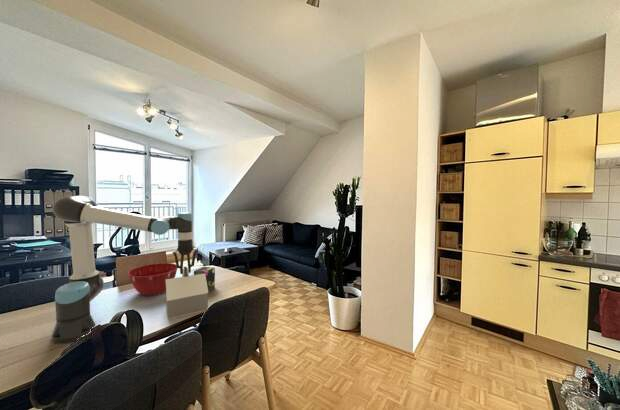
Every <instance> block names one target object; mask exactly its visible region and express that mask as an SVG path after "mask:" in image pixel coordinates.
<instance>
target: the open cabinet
mask: <svg viewBox="0 0 620 410" xmlns="http://www.w3.org/2000/svg"><path fill="white" fill-rule="evenodd" d="M208 299H209V292H208V293H205V294H200V295H195V296H190V297H185V298H180V299H175V300H169V301H167V294H166V293H165V300H166V303H165V305H166V309H165V311H166V315H167V320H172V319H175V318H181V317H185V316H189V315H193V314H198V313H201V312H205V310H206V309H207V308H208V309H209V304H208V303H209V302H208Z"/></svg>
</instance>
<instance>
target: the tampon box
mask: <svg viewBox="0 0 620 410" xmlns="http://www.w3.org/2000/svg"><path fill="white" fill-rule="evenodd" d="M204 273H205V275H206V281H207V287H208V293H210V292H211V291H212V290H214V289H215V288H216V287H215V286H216V285H215V284H216V282H215V281H216V268H215V267H210V266H203V267H199V268H198V269H195V270H194V271H193V275H198V274H204Z"/></svg>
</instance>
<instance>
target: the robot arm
mask: <svg viewBox="0 0 620 410" xmlns="http://www.w3.org/2000/svg"><path fill="white" fill-rule="evenodd" d="M52 213H53V214H54V216H55V217H57V219H59V220H61V221H63V223H64V225H65V226H67V227H68V232H69V242H70V245H69V246H70V252H71V264H72V265H71V266H72V274H71V275H70V277H69V282H68V283H65V284H63V285H61V286H59V287H58V288H57V289H56V290H55V293H54V294H55V296H54V302H55V303H54V304H55V305H54V306H55V321H56V323H55V325H54V328H53V329H52V330H53V331H52V334H51V343H53V342H54V344H58V343H60V344H68V343H72V342H76V341H78V340H77V339H78V338H80V337H81V336H83V335H86V334H88V333H89V332H90V329H91V328H92V327H94V326H95V327H96V322H95V321H94V319H93V317H92V315H91V302H92V301H93V300H94V299H95V298H96V297H97V296H99V294H100V293H101V291H103V288H104V284H105V281H104V279H103V277H101V275H100V271H99V270H97V269H96V262H95V261H96V260H95V251H94V250H95V249H94V237H93V226H92V225H93V224H98V225H99V224H100V225H104V226H105V225H106V226H112V227H117V228H124V229H129V230H130V229H131V230H137V231H141V232H143V231H144V232H149V233H153V234H155V235H157V236H160V235H164V234H166V233H168V232H169V230H170V231H171V230H177V239H178V240H177V248H176V250H173V251H172V254H173V256H174V261H175V264H176V266H177V269H179V273H180V275H182V276H181V277H184V267H185V266H184V259H185V258H184V257H185V256H186V259H187V261H186V262H187V266H186V267H187V274H188V276H190V273H191V272H192V271H191V268H192V267H194V266H195V262H196V256H197V253H198V249H197V248H194V246H193V214H192V212H189V211H187V212H185V211H184V212H178V213H177V215H173V216H170V215H169V216H167V215H166V216H163V215H160V216H147V215H143V214H137V213H132V212H126V211H120V210H116V209H110V208H104V207H100V206H99V207H98V205H97V202H96V201H95V200H94V199H93V198H91V197H89V196H85V195H73V196H63V197H61V198H58V199H57V200H56V201H55V202H54V204H53V205H52ZM191 253H192V257H191V256H190V255H191ZM178 254H179V255H180V263H179V258H178ZM190 257H191V258H190Z"/></svg>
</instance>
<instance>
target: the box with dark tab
mask: <svg viewBox="0 0 620 410" xmlns="http://www.w3.org/2000/svg"><path fill="white" fill-rule="evenodd" d="M183 267H184V277H182V276H179V277H175V278H172V279H166V291H165V295H166V294H167V301H169V300H175V299H180V298H185V297H190V296H195V295H200V294H205V293H208V294H209V292H208V287H207V281H206V275H205V273H204V274H198V275H194V274H192V275H189V276H188V274H187V267H188V266H183Z"/></svg>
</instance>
